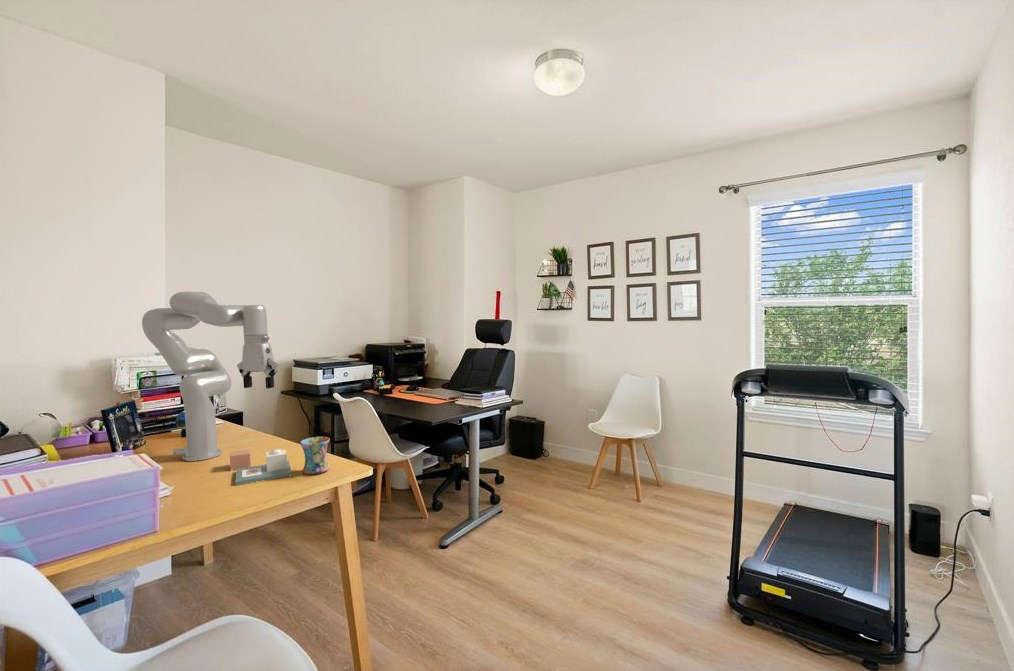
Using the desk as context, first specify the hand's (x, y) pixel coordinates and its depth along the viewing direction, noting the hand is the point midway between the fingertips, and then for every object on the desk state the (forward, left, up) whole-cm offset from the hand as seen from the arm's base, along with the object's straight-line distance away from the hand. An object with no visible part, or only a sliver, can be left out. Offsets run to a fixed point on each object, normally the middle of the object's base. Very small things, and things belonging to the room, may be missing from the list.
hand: (259, 387), depth 169 cm
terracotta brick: (-7, -1, -27) cm, 28 cm away
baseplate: (0, -14, -27) cm, 31 cm away
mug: (+16, -22, -27) cm, 39 cm away
